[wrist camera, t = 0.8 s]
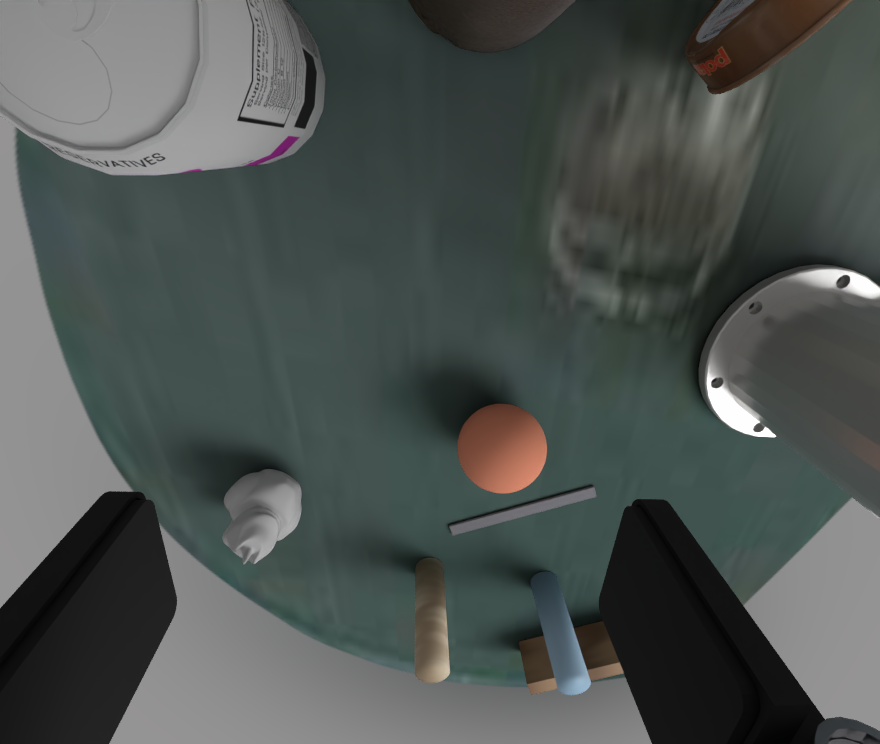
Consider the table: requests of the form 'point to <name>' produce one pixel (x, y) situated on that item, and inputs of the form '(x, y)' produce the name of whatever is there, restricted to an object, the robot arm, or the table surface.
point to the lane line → (523, 510)
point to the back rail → (592, 647)
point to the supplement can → (160, 81)
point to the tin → (752, 37)
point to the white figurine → (261, 512)
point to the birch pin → (430, 622)
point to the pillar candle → (488, 21)
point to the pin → (559, 635)
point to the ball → (502, 448)
